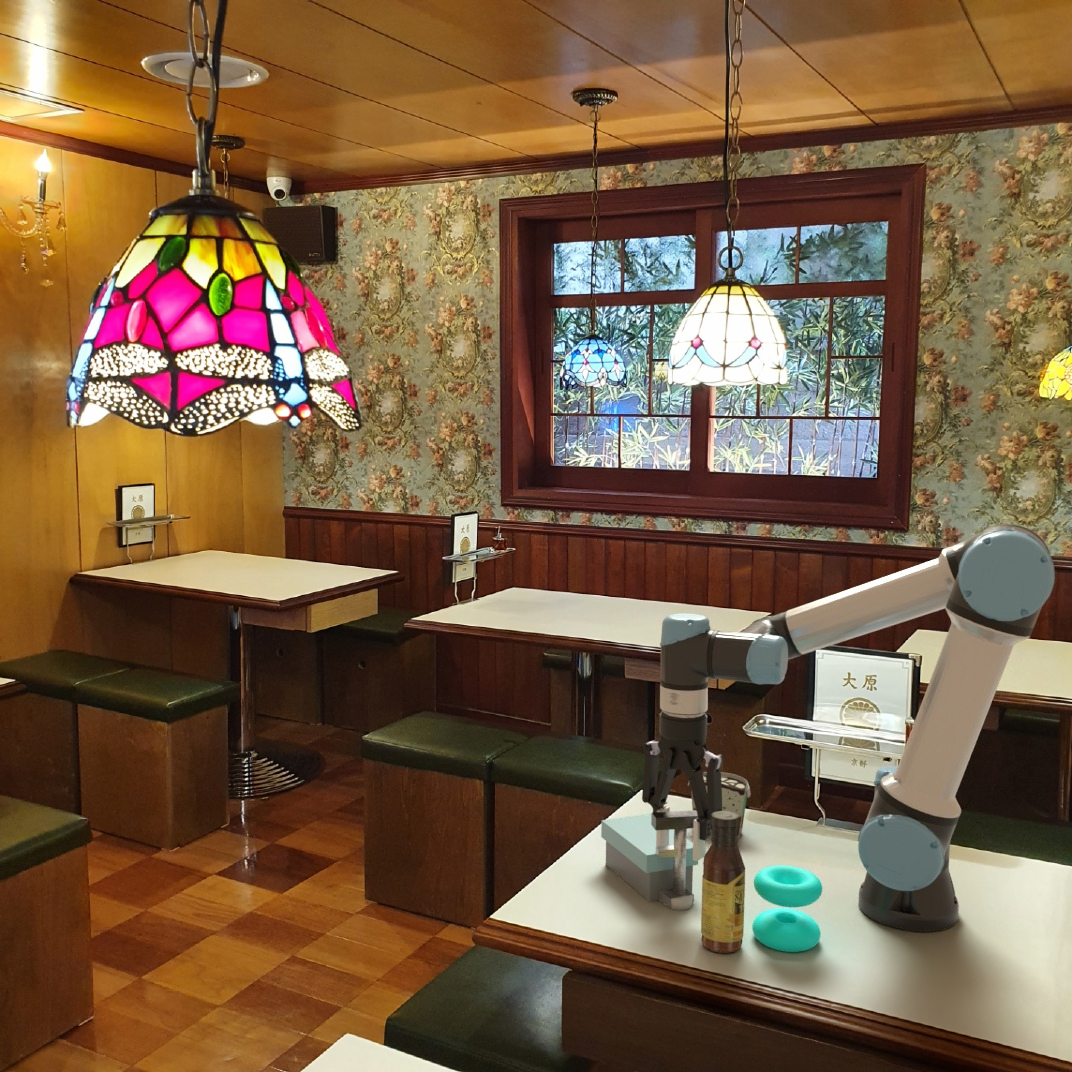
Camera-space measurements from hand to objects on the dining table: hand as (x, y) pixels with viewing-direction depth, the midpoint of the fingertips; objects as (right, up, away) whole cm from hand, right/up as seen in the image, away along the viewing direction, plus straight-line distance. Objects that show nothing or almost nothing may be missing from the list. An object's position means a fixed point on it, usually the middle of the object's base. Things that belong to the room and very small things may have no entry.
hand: (680, 852), depth 175 cm
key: (0, -7, +1) cm, 7 cm away
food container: (+13, -5, +35) cm, 37 cm away
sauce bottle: (+4, -10, -13) cm, 17 cm away
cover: (-4, -3, +10) cm, 11 cm away
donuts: (+14, -10, -11) cm, 21 cm away
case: (-3, -8, +8) cm, 12 cm away
